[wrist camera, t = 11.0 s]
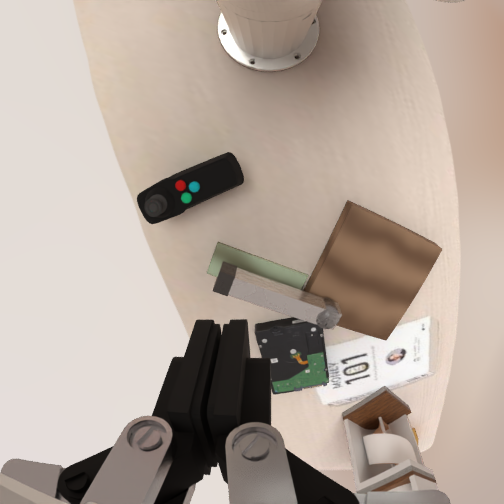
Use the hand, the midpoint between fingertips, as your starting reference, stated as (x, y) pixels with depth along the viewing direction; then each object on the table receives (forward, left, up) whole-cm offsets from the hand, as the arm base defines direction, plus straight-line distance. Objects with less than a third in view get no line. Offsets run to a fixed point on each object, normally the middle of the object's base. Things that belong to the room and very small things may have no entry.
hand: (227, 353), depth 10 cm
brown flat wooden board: (+6, +13, -32) cm, 35 cm away
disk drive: (+24, +16, -33) cm, 43 cm away
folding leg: (+12, +8, -29) cm, 33 cm away
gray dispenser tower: (+33, +40, -32) cm, 61 cm away
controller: (+2, -7, -32) cm, 33 cm away
